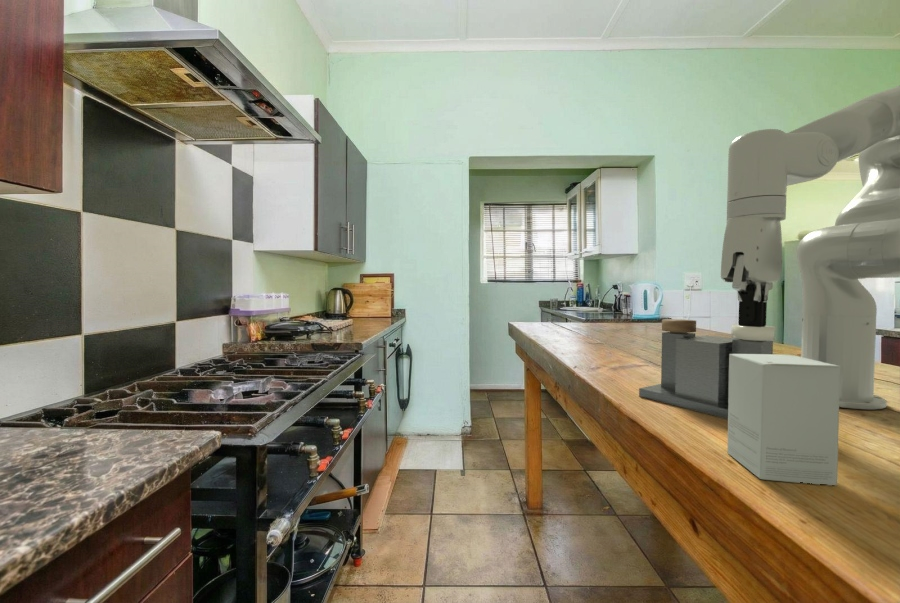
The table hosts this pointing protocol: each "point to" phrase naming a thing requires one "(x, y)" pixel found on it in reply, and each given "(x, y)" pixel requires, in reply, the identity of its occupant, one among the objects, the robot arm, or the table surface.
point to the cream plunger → (753, 333)
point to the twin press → (699, 371)
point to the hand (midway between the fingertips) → (751, 326)
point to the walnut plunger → (678, 326)
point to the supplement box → (784, 417)
